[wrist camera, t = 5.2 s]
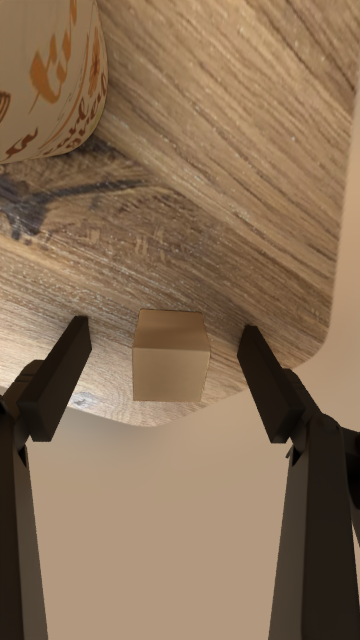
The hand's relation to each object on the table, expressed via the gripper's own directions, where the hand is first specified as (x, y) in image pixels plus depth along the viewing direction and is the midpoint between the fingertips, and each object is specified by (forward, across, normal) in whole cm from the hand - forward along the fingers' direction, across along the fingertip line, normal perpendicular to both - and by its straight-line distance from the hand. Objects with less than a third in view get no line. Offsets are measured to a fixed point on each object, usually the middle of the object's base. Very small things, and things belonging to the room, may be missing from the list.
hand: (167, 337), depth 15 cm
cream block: (0, 0, 0) cm, 0 cm away
